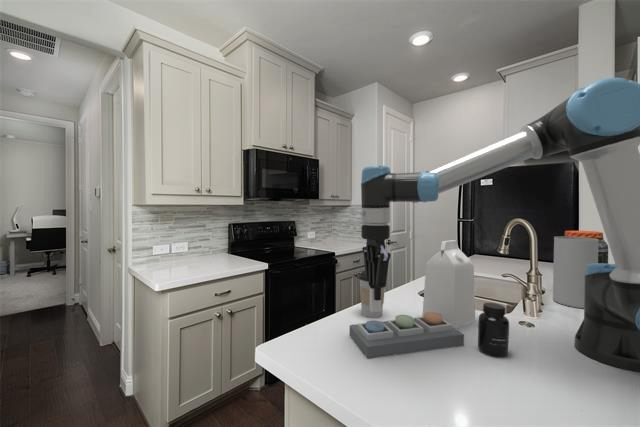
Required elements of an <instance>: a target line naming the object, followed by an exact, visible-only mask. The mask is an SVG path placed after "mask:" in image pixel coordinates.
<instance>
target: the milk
mask: <svg viewBox="0 0 640 427" xmlns="http://www.w3.org/2000/svg"><path fill="white" fill-rule="evenodd" d="M474 267H475V266H474V264H473V262H472V260H471V259H470V258H469V257H468V256H467V255H466V254H465V253H464V251H462V250H461V249H460V248H459V245H458V242H457V240H456V239H454V240H452V239H451V240H442V241H441V246H440V250H439V251H437V252H436V253H435V254H434V255H433V256H432V257H431V258H429V259H428V260H427V262H426V263H425V274H424V275H425V276H424V288H423V302H422V303H423V304H422V315H421V317H424V313H426V312H435V313H438V314H441V315H442V319H443V320H445V321H447V322H448V323H450V324H452V327H453V328H455V329H456V330H458V329H459V328H461V327H463V326H466V325H469V324H471V323H473V322H476V319H477V318H476V299H475V298H476V295H475V294H476V292H475V291H476V290H475V268H474Z"/></svg>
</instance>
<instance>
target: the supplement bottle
mask: <svg viewBox="0 0 640 427" xmlns="http://www.w3.org/2000/svg"><path fill="white" fill-rule="evenodd" d="M482 307H483V308H482V312H481V313H480V314H479V315H478V322H477V323H478V324H477V325H478V326H477V328H478V329H477V347H478V350H479V351H481V353H483V354H485V355H487V356H490V357H494V358H505V357H507V356H508V354H509V339H510V320H509V319H508V318H507V316H505V315H506V307H505V306H504V305H502V304H500V303H496V302H495V303H494V302H485V303H484V302H483V306H482Z"/></svg>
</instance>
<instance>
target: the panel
mask: <svg viewBox="0 0 640 427" xmlns="http://www.w3.org/2000/svg"><path fill="white" fill-rule="evenodd" d="M413 318H414V326H413V327H410V328H404V327H400V326H398V325H396V323H395V319H388V320H386V321H381V320H379V321H380V322H382V323H384V332H377V333H369V332H368V331H367V330H366V322H362V323H361V322H360V323H357V324H350V325H349V337H350V336H351V337H350V338H351V339H352V341H353V340H354V341H353V342H354V343H355V345H356V344H357V345H356V346H357V347H358V348H359V350H360V351H361V352H362V354H363V355H364V357H366V359H367V360H368V359H374V358H382V357H388V355H390V356H395V355H394V354H397V355H402V354H403V353H404V354H410V353H416V352H417V353H418V352H426V351H432V350H433V351H434V350H439V349H444V348H445V349H446V348H452V347H453V348H455V347H459V346H465V334H464V333H463V332H461V331H460V330H458V329H455V328H453V327H452V324H450V323H448V322H447V321H445V320H443V319H442V323H441V324H430V323H427V322H425V321H424V317H422V316H417V317H416V316H415V317H413Z"/></svg>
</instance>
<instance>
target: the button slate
mask: <svg viewBox="0 0 640 427" xmlns="http://www.w3.org/2000/svg"><path fill="white" fill-rule="evenodd" d="M380 321H381V320H375V319H373V320H372V319H371V320H368V321H366V322H365V323H366V330H367V331H368V332H369V333H377V332H384V323H382V322H383V321H382V322H380Z"/></svg>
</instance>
